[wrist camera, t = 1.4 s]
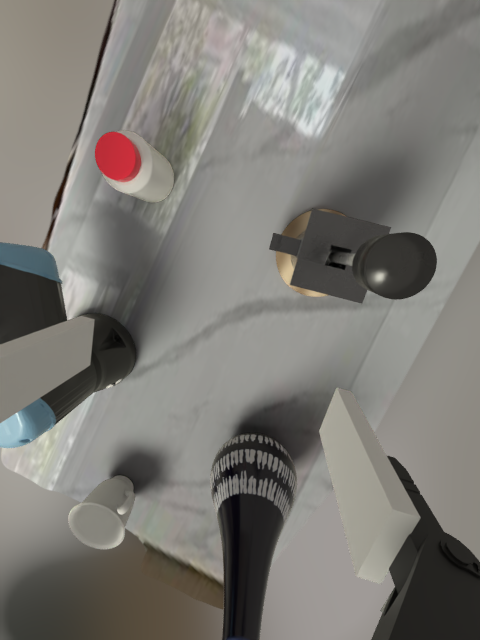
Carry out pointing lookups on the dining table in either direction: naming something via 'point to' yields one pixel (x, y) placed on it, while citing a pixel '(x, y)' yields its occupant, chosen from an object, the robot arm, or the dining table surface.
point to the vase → (250, 523)
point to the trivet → (285, 259)
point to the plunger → (389, 264)
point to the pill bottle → (134, 166)
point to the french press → (315, 248)
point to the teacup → (103, 514)
